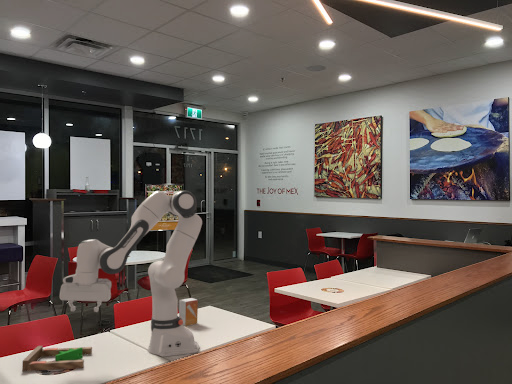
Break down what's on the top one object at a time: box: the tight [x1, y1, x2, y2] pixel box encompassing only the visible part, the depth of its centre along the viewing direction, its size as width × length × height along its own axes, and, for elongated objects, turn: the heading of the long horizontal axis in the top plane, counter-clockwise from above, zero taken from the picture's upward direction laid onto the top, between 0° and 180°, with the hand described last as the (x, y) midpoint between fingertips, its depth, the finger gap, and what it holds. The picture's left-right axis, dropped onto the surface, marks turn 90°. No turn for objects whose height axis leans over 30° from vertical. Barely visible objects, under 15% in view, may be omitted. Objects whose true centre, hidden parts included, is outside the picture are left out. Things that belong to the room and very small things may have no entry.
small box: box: [178, 297, 199, 327], centre depth 226 cm, size 8×6×13 cm
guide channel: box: [21, 345, 93, 372], centre depth 171 cm, size 22×17×4 cm
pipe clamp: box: [54, 347, 83, 361], centre depth 171 cm, size 11×4×5 cm, turn 145°
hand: (84, 311), depth 174 cm, fingers open, 8 cm apart
